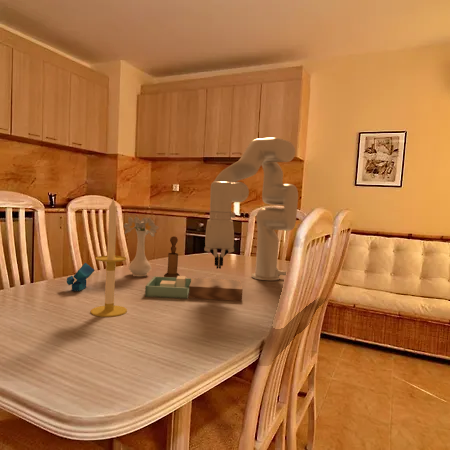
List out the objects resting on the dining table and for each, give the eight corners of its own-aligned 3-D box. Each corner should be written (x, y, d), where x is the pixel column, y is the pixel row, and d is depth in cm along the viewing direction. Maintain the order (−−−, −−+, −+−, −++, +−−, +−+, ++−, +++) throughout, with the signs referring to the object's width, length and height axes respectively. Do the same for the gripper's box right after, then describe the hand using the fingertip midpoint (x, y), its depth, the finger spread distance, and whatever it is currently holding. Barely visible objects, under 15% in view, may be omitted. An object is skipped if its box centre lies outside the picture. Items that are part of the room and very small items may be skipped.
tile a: (186, 276, 132) (177, 275, 132) (184, 279, 127) (176, 278, 127) (185, 289, 133) (177, 289, 132) (184, 293, 128) (175, 292, 127)
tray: (190, 287, 139) (191, 278, 138) (186, 298, 123) (187, 288, 122) (153, 285, 138) (154, 276, 138) (144, 296, 122) (145, 286, 122)
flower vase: (159, 271, 165) (162, 216, 163) (148, 280, 147) (151, 218, 145) (131, 269, 166) (133, 214, 164) (116, 278, 147) (119, 216, 146)
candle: (93, 318, 98) (97, 196, 96) (88, 307, 106) (92, 196, 104) (130, 315, 102) (135, 198, 100) (123, 305, 111) (127, 198, 109)
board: (239, 290, 138) (240, 280, 138) (241, 300, 124) (242, 289, 124) (191, 288, 138) (192, 277, 137) (188, 298, 124) (189, 286, 123)
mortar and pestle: (176, 283, 144) (179, 237, 143) (161, 281, 146) (163, 236, 145) (182, 279, 151) (184, 236, 150) (167, 278, 152) (169, 235, 151)
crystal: (60, 272, 120) (76, 258, 132) (62, 296, 123) (78, 280, 134) (83, 274, 120) (97, 260, 131) (84, 297, 122) (98, 282, 134)
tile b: (161, 280, 132) (161, 288, 132) (160, 283, 127) (159, 292, 127) (175, 281, 132) (175, 289, 132) (174, 284, 127) (174, 292, 127)
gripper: (240, 216, 133) (239, 266, 135) (199, 215, 133) (198, 265, 135) (242, 218, 126) (240, 270, 127) (198, 216, 125) (197, 269, 127)
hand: (218, 267), depth 131 cm, fingers closed
